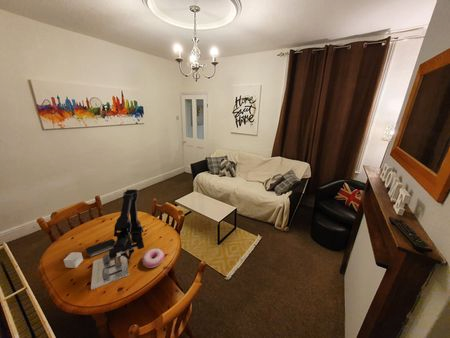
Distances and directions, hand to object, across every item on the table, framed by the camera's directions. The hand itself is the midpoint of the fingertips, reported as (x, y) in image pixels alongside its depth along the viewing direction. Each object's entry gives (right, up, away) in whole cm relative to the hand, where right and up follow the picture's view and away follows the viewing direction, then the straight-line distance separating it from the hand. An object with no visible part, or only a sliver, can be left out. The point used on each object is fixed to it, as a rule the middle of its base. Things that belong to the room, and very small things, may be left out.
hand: (128, 259), depth 113 cm
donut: (+15, -3, +3) cm, 15 cm away
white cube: (-33, -2, -2) cm, 33 cm away
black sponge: (-24, +1, +10) cm, 26 cm away
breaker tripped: (-5, -2, -3) cm, 6 cm away
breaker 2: (-7, -4, -11) cm, 14 cm away
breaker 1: (-13, -1, -1) cm, 13 cm away
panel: (-9, -4, -4) cm, 10 cm away
